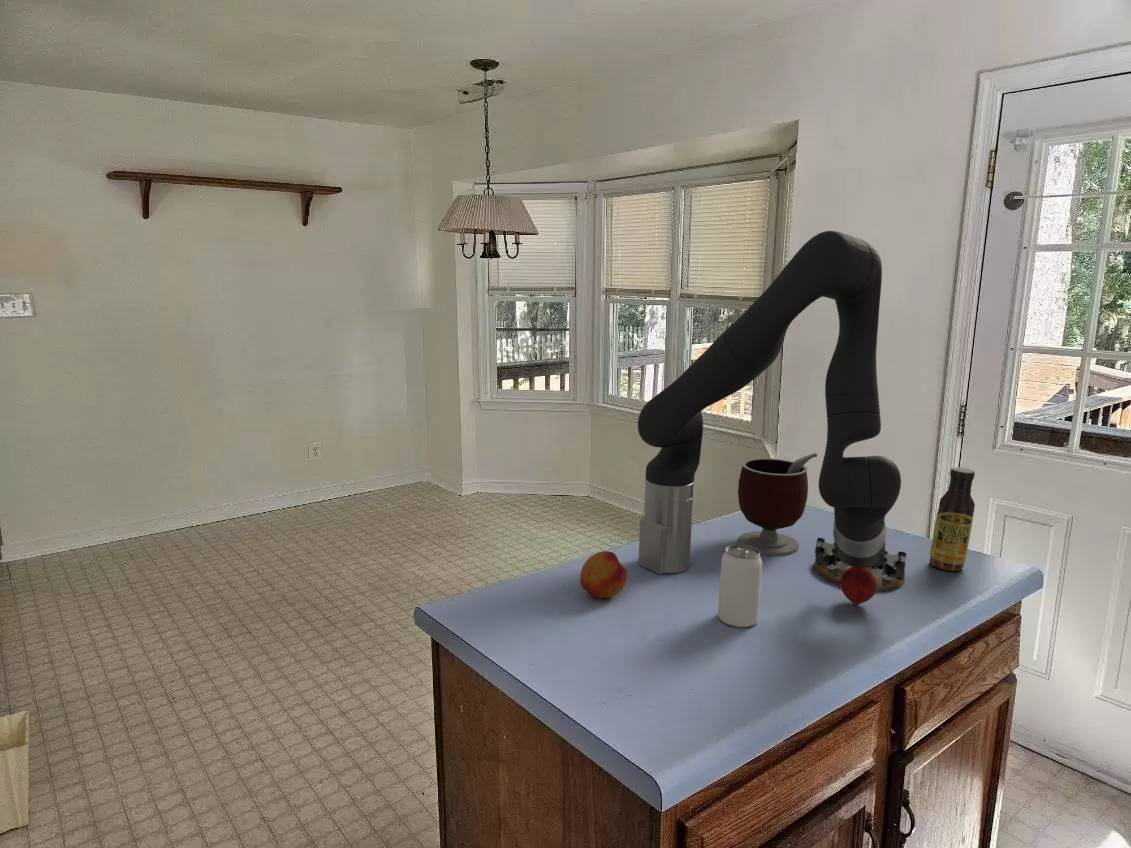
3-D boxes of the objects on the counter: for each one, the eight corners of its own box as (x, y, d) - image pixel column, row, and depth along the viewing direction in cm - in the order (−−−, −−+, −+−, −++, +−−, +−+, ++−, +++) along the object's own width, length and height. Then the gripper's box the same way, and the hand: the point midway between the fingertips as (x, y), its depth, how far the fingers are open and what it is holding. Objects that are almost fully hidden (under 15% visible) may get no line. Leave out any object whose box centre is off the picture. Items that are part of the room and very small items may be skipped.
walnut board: (876, 598, 128) (877, 590, 128) (798, 569, 140) (798, 561, 140) (920, 576, 138) (921, 568, 137) (843, 550, 150) (843, 543, 150)
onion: (879, 612, 123) (884, 568, 121) (845, 611, 123) (850, 567, 121) (866, 597, 128) (871, 554, 127) (833, 596, 128) (838, 554, 127)
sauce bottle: (929, 569, 141) (942, 471, 137) (927, 558, 146) (939, 463, 142) (967, 575, 138) (982, 475, 134) (963, 563, 144) (977, 467, 140)
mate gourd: (743, 556, 146) (750, 461, 142) (727, 532, 159) (733, 444, 155) (820, 557, 146) (829, 461, 142) (797, 533, 160) (805, 445, 155)
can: (759, 614, 121) (764, 546, 119) (756, 631, 115) (761, 561, 113) (720, 607, 124) (724, 541, 121) (715, 624, 118) (719, 555, 115)
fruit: (622, 608, 123) (624, 564, 121) (576, 603, 125) (576, 559, 123) (628, 589, 130) (630, 547, 129) (584, 584, 132) (585, 542, 130)
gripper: (912, 521, 112) (907, 565, 124) (815, 506, 118) (820, 549, 131) (906, 565, 108) (902, 606, 121) (807, 547, 115) (813, 588, 127)
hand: (859, 576), depth 126 cm, fingers open, 7 cm apart
